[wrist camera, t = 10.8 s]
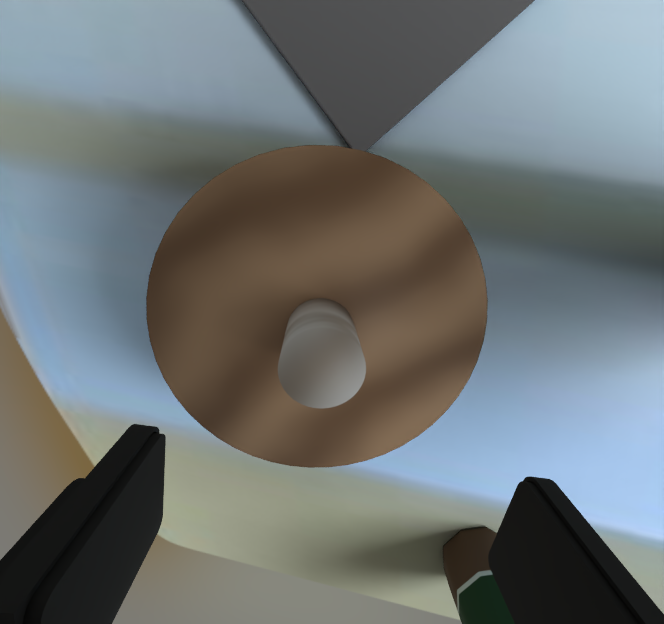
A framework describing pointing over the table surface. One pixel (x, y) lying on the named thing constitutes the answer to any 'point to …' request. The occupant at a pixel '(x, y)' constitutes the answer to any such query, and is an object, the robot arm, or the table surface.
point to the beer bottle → (474, 578)
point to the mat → (378, 52)
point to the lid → (316, 306)
